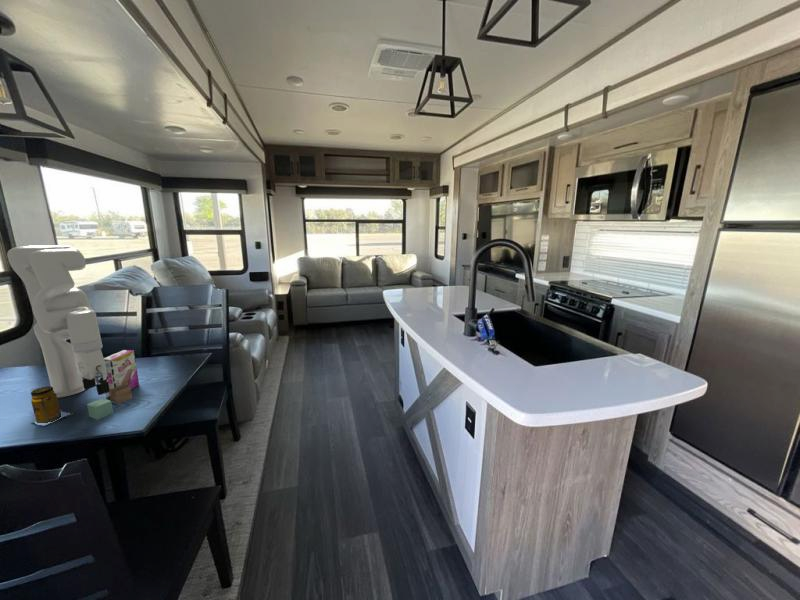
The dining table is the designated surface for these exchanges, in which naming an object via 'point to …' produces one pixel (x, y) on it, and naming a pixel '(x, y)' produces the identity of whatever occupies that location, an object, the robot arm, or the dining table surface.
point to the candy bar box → (121, 369)
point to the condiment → (45, 405)
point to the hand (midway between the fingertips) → (97, 390)
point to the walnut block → (120, 394)
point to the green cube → (100, 408)
